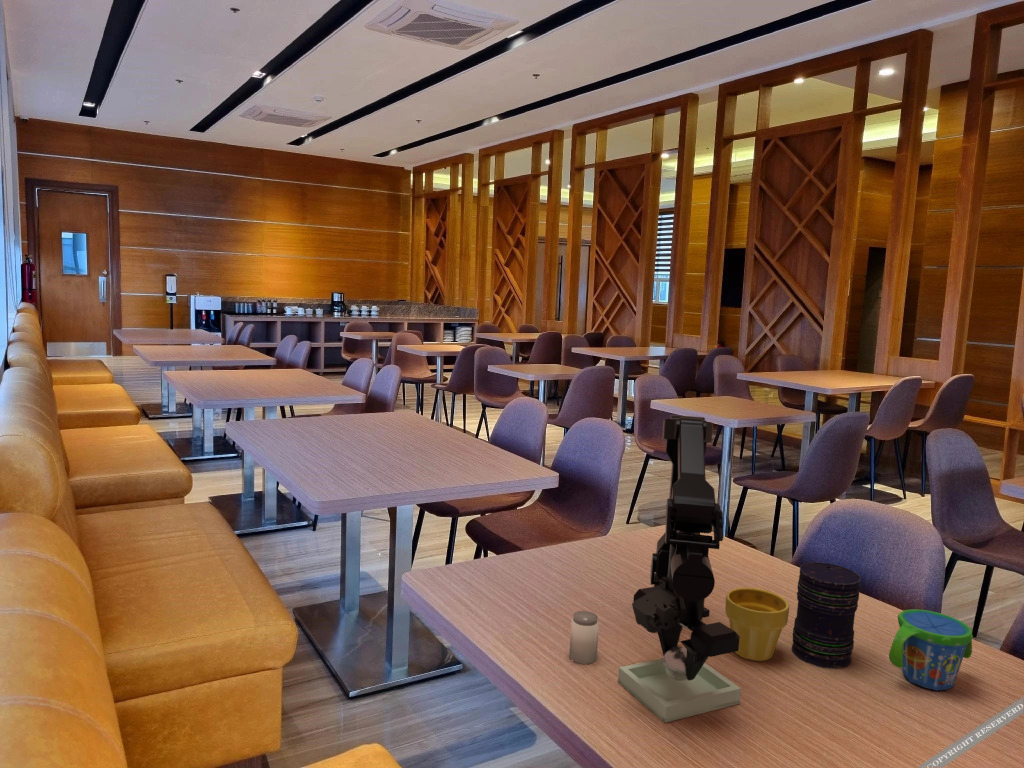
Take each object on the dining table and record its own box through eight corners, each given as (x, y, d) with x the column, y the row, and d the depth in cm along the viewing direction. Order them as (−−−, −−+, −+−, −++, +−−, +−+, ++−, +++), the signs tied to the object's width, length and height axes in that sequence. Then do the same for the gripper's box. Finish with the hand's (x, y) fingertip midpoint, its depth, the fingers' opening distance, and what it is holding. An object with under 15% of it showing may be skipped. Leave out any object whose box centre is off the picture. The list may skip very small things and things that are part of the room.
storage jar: (854, 674, 125) (864, 588, 123) (791, 662, 128) (800, 578, 126) (848, 647, 135) (857, 567, 133) (790, 637, 138) (798, 559, 136)
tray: (688, 666, 125) (689, 652, 125) (739, 703, 114) (740, 688, 114) (617, 682, 119) (619, 667, 119) (664, 723, 108) (666, 706, 108)
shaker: (587, 648, 130) (590, 608, 129) (601, 661, 125) (604, 619, 125) (564, 653, 128) (566, 612, 127) (578, 666, 123) (580, 623, 123)
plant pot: (752, 672, 124) (757, 615, 123) (709, 644, 133) (713, 591, 132) (797, 660, 129) (802, 606, 128) (752, 634, 138) (757, 583, 137)
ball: (680, 668, 120) (683, 638, 119) (701, 683, 115) (704, 652, 115) (655, 673, 118) (657, 643, 117) (675, 689, 113) (677, 658, 112)
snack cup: (942, 661, 131) (949, 606, 130) (993, 694, 121) (1001, 634, 120) (864, 667, 128) (871, 610, 126) (910, 701, 118) (918, 639, 116)
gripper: (608, 559, 119) (602, 652, 121) (684, 606, 102) (675, 713, 104) (665, 551, 124) (658, 641, 126) (746, 595, 107) (736, 698, 109)
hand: (679, 671), depth 116 cm, fingers closed on ball, 5 cm apart
